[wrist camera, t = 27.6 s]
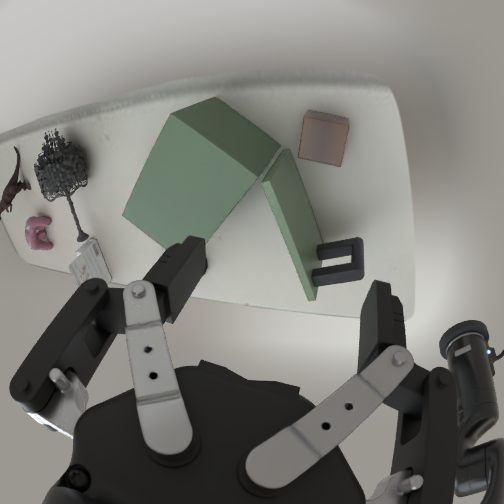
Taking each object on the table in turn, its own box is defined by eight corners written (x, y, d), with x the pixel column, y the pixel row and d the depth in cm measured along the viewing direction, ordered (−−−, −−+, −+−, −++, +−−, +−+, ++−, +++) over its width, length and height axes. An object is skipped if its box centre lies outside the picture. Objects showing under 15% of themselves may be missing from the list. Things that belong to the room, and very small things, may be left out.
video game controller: (47, 209, 62) (22, 216, 57) (52, 220, 60) (26, 228, 55) (49, 238, 68) (26, 245, 63) (54, 249, 66) (30, 258, 61)
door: (335, 135, 36) (332, 163, 27) (365, 239, 43) (367, 293, 34) (282, 150, 39) (260, 182, 30) (318, 248, 46) (308, 301, 37)
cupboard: (281, 145, 39) (258, 177, 29) (220, 220, 48) (188, 266, 39) (215, 96, 37) (170, 113, 28) (165, 179, 46) (121, 215, 37)
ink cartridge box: (105, 277, 66) (81, 305, 59) (89, 237, 60) (60, 264, 52) (113, 279, 66) (89, 308, 58) (97, 238, 59) (68, 266, 52)
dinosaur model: (-7, 224, 50) (-23, 162, 42) (26, 201, 60) (14, 144, 52) (1, 225, 50) (-16, 161, 42) (35, 202, 59) (23, 142, 51)
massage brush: (82, 224, 58) (54, 249, 51) (54, 126, 46) (17, 144, 39) (113, 227, 56) (84, 254, 49) (85, 118, 43) (45, 135, 36)
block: (348, 118, 34) (349, 126, 30) (341, 154, 37) (340, 167, 33) (308, 109, 35) (304, 116, 31) (303, 146, 38) (297, 157, 34)
